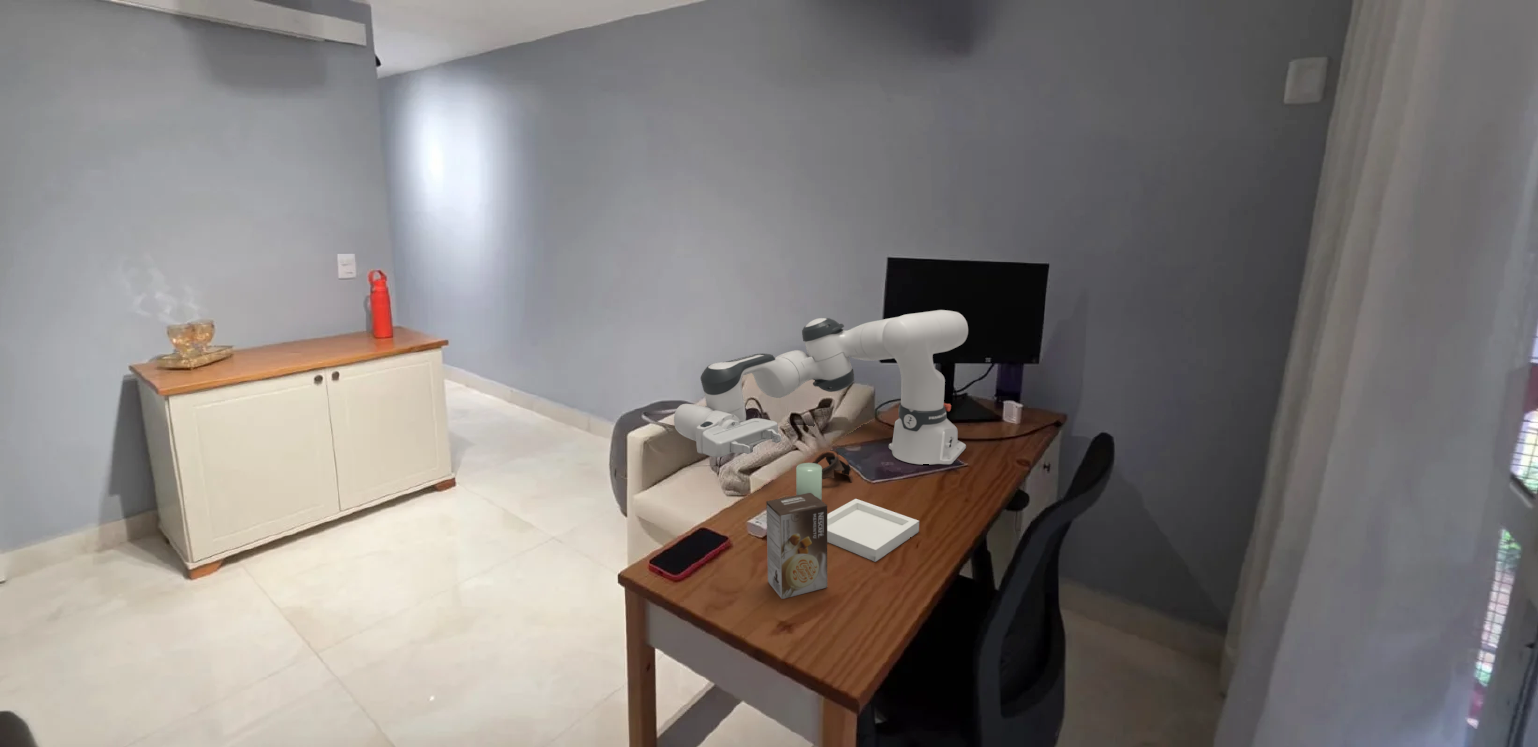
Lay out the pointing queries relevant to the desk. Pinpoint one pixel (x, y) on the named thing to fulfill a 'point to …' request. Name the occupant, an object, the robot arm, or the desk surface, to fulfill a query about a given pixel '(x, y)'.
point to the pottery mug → (834, 464)
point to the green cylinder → (809, 479)
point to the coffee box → (797, 544)
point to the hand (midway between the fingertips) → (765, 444)
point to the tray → (868, 529)
